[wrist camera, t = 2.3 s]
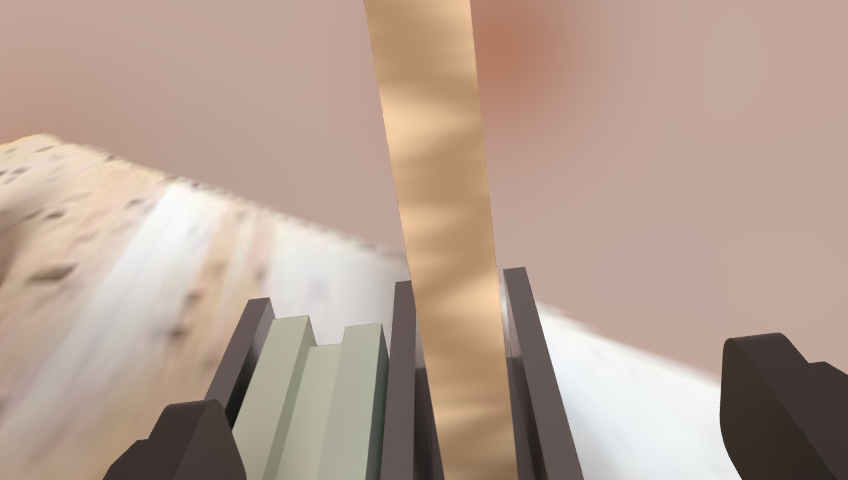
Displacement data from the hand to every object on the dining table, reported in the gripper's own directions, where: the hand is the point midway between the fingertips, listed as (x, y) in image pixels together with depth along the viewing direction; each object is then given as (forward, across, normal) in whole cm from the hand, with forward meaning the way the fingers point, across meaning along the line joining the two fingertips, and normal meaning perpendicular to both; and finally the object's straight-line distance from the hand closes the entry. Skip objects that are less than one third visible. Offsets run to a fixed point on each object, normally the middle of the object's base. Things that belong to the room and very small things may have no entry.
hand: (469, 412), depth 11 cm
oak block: (+12, 0, +13) cm, 17 cm away
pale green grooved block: (+12, +6, +13) cm, 18 cm away
